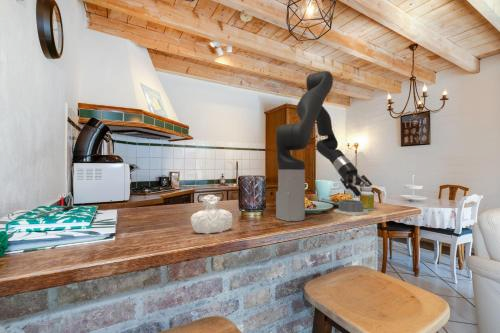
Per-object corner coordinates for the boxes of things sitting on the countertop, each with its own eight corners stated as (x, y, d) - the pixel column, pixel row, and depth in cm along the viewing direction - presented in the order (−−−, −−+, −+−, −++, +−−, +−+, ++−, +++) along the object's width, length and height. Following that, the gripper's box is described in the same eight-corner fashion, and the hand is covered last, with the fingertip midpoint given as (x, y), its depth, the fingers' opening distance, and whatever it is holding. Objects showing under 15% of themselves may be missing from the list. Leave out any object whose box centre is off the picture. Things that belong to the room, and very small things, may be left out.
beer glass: (368, 211, 98) (368, 187, 98) (357, 209, 102) (356, 186, 102) (376, 210, 100) (376, 187, 100) (364, 208, 105) (364, 186, 105)
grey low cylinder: (355, 216, 88) (355, 203, 88) (333, 212, 95) (333, 201, 95) (368, 213, 93) (368, 201, 93) (346, 209, 101) (346, 199, 101)
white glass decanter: (231, 236, 70) (224, 202, 76) (238, 224, 64) (230, 189, 71) (190, 241, 65) (186, 204, 72) (193, 229, 60) (189, 191, 66)
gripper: (338, 162, 106) (359, 189, 96) (360, 162, 112) (383, 188, 102) (329, 173, 111) (349, 201, 101) (351, 173, 117) (371, 199, 107)
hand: (366, 194), depth 101 cm, fingers open, 8 cm apart
